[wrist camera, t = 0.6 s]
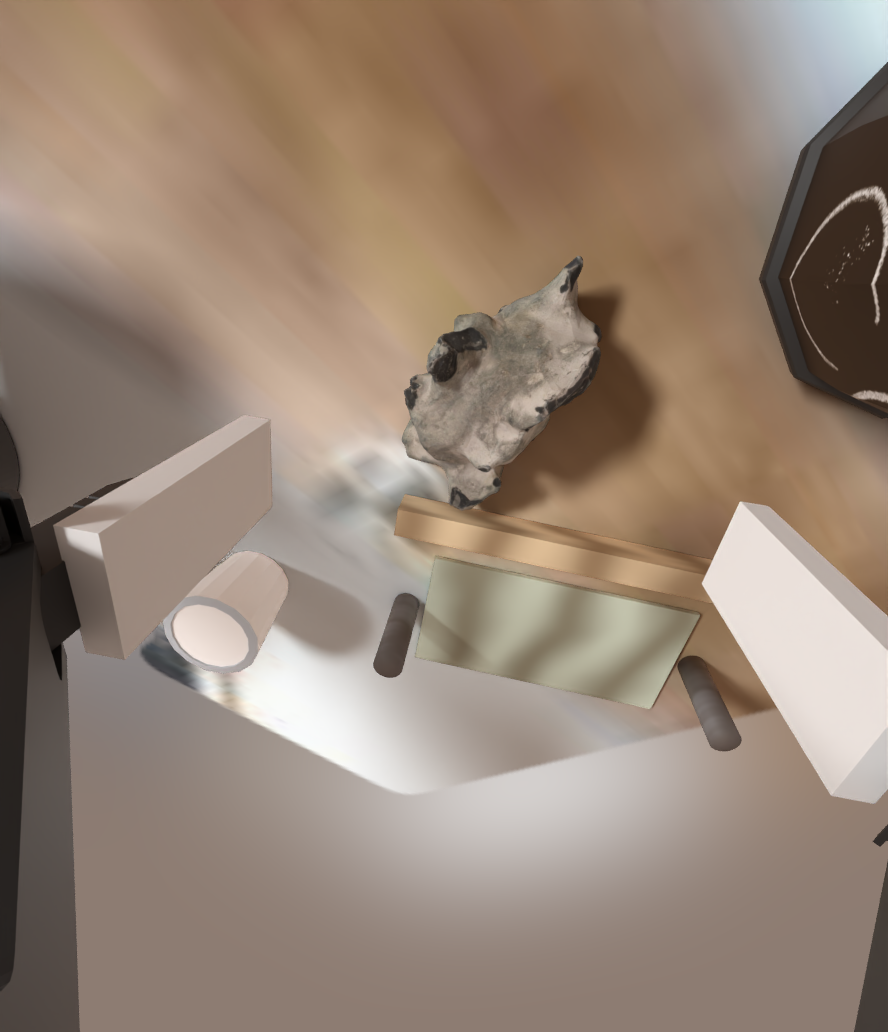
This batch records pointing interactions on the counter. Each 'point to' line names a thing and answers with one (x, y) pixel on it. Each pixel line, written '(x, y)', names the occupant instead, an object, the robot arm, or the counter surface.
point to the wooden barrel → (837, 256)
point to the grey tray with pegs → (554, 612)
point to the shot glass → (228, 613)
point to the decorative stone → (499, 385)
